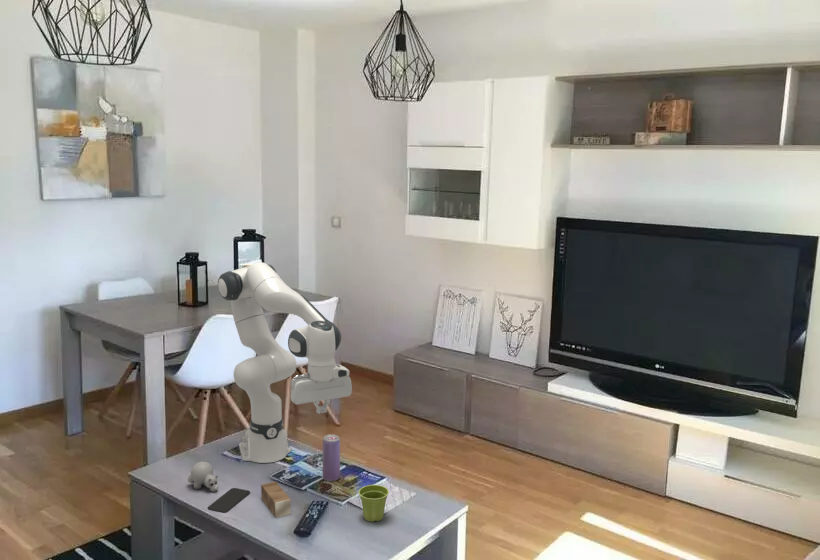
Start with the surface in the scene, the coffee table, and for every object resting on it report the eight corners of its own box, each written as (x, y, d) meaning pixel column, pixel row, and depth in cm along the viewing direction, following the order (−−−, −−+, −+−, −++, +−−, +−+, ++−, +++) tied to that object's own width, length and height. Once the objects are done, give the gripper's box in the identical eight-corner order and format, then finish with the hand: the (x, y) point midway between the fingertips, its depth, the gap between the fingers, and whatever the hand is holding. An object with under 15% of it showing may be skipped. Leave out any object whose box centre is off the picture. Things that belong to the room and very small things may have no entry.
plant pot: (378, 527, 218) (378, 501, 216) (352, 519, 222) (352, 493, 221) (393, 514, 226) (394, 489, 224) (368, 507, 230) (369, 482, 229)
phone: (206, 508, 227) (232, 487, 240) (206, 510, 227) (232, 489, 241) (226, 512, 224) (251, 491, 238) (226, 514, 224) (251, 493, 238)
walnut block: (275, 517, 222) (261, 498, 234) (290, 514, 225) (276, 495, 237) (275, 503, 221) (261, 484, 233) (290, 499, 224) (275, 481, 236)
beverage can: (336, 482, 246) (337, 441, 244) (320, 480, 248) (320, 440, 245) (341, 475, 252) (342, 435, 250) (325, 473, 253) (325, 433, 251)
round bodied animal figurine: (205, 503, 236) (210, 483, 232) (183, 480, 241) (188, 461, 238) (222, 494, 242) (227, 475, 238) (201, 473, 247) (206, 454, 244)
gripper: (294, 378, 222) (294, 421, 224) (354, 370, 232) (353, 410, 234) (287, 373, 227) (287, 414, 229) (346, 365, 237) (345, 404, 239)
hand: (321, 412), depth 232 cm, fingers closed
